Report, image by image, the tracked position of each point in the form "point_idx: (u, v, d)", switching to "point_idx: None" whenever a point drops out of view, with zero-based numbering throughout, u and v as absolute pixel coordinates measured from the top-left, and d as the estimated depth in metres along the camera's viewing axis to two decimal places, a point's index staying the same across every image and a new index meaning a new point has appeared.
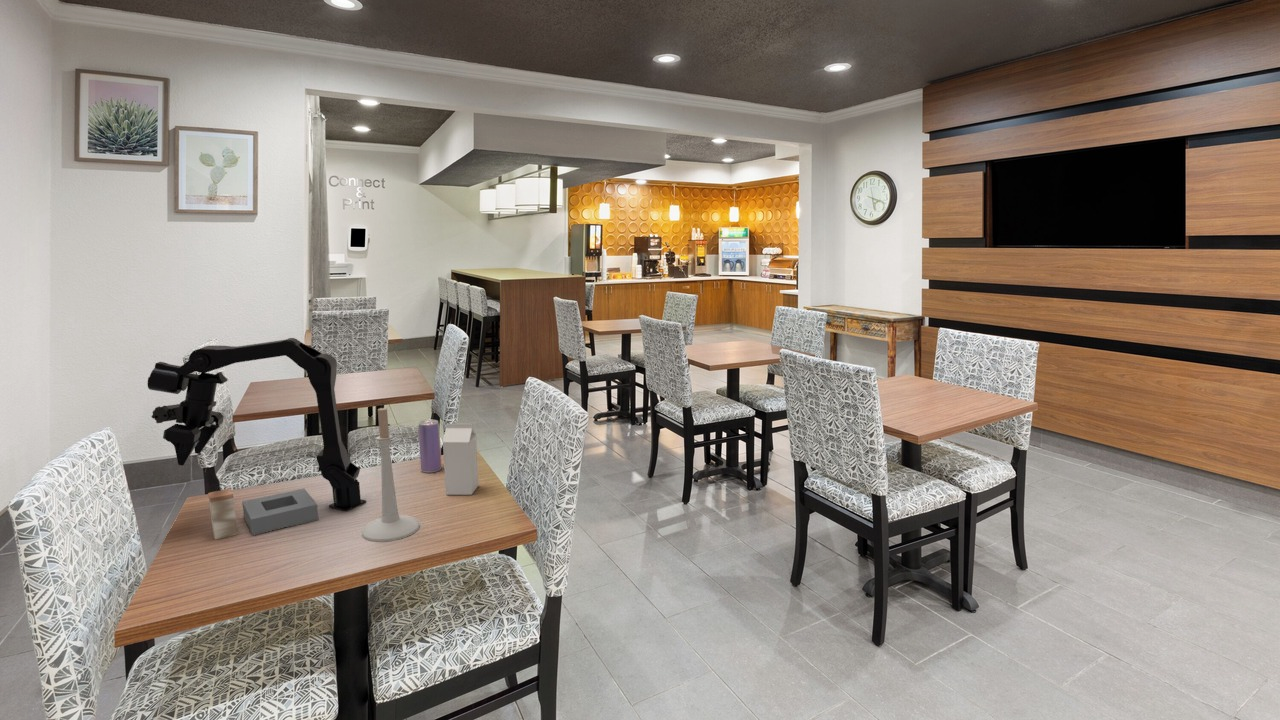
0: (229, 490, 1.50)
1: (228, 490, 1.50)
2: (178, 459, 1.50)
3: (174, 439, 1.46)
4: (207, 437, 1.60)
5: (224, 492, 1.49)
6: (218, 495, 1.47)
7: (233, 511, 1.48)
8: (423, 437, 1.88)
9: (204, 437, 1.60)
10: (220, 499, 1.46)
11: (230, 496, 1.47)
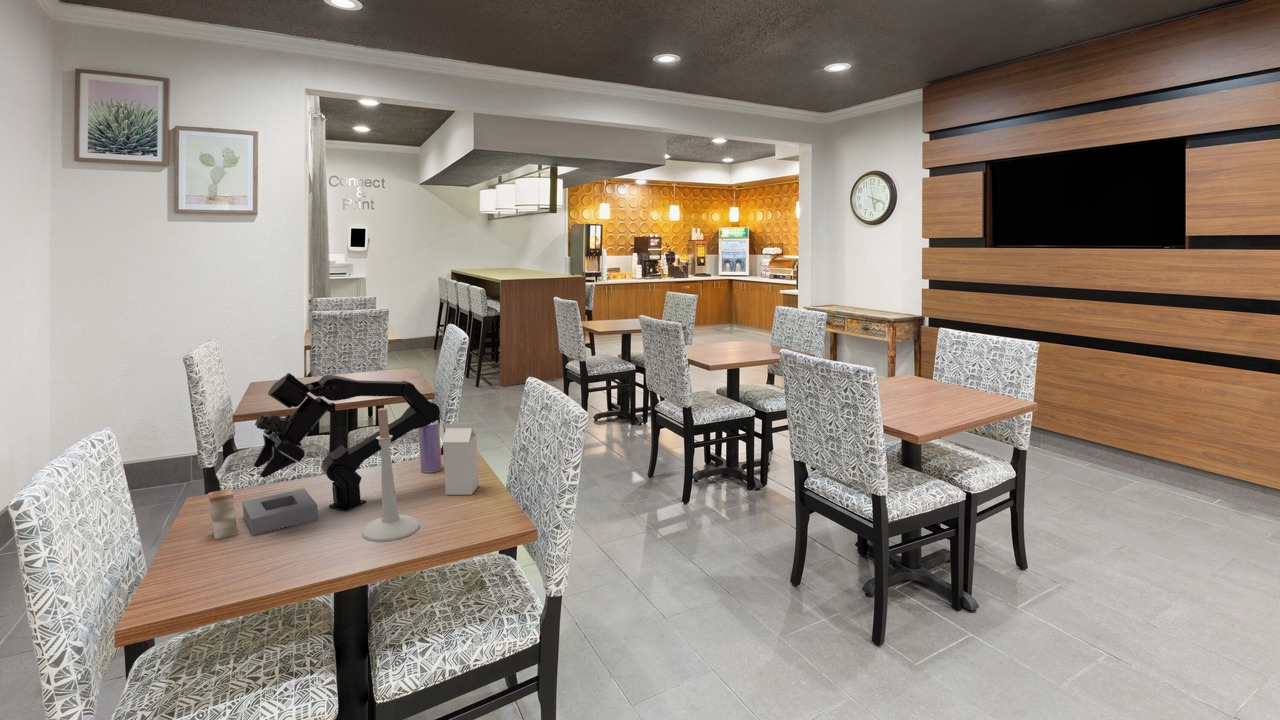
0: (229, 490, 1.50)
1: (228, 490, 1.50)
2: (265, 470, 1.49)
3: (287, 453, 1.47)
4: (273, 454, 1.58)
5: (224, 492, 1.49)
6: (218, 495, 1.47)
7: (233, 511, 1.48)
8: (423, 437, 1.88)
9: (271, 453, 1.58)
10: (220, 499, 1.46)
11: (230, 496, 1.47)
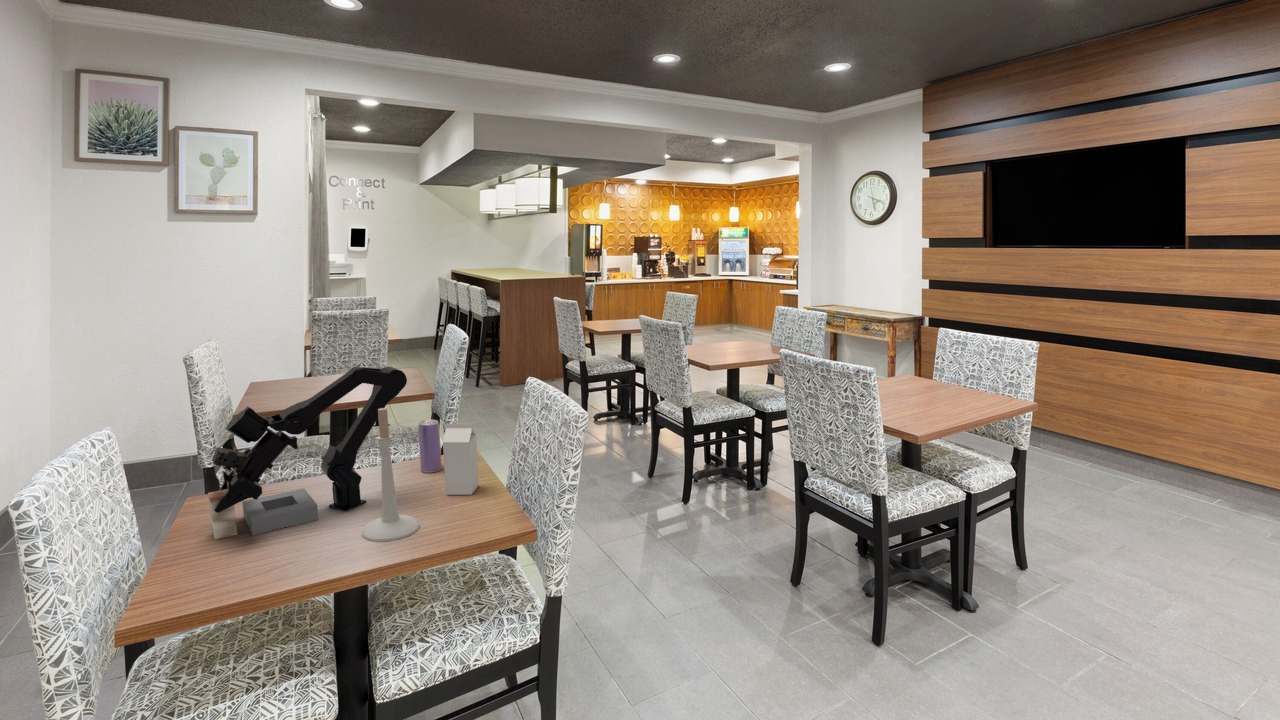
0: None
1: None
2: (219, 505, 1.46)
3: (243, 491, 1.43)
4: None
5: (224, 492, 1.49)
6: (218, 495, 1.47)
7: (233, 511, 1.48)
8: (423, 437, 1.88)
9: None
10: (220, 499, 1.46)
11: None
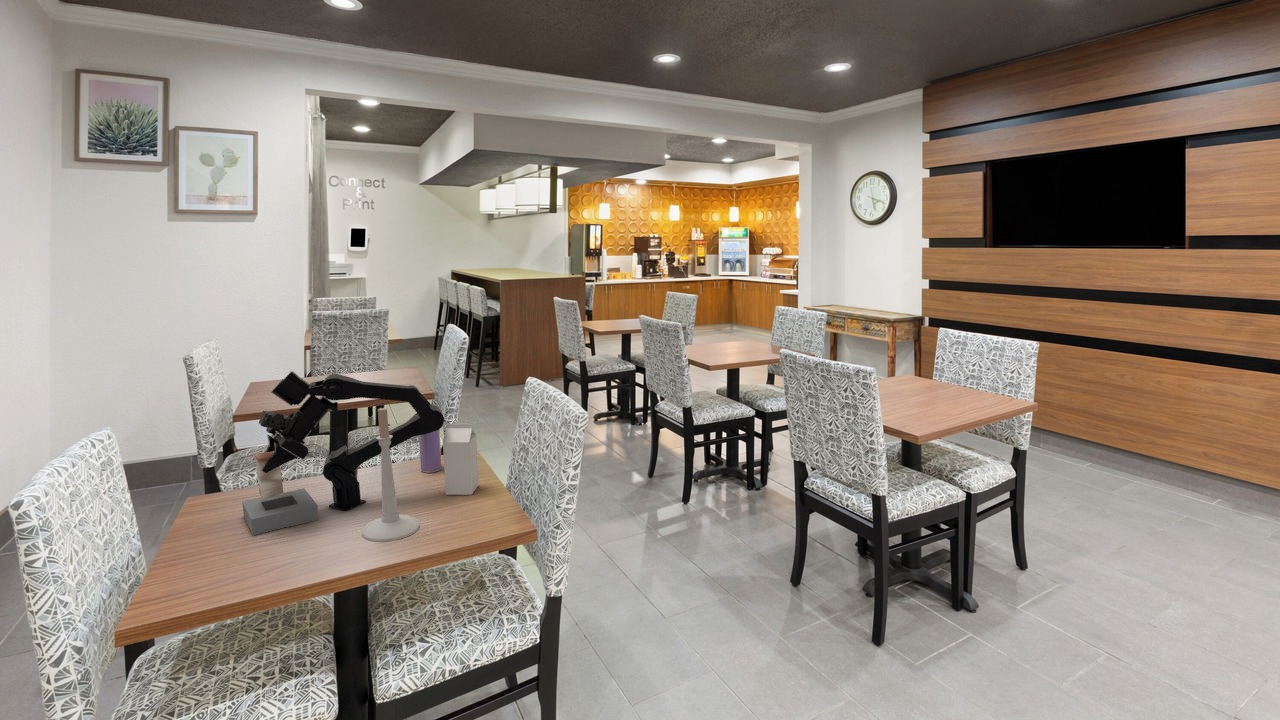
0: None
1: None
2: (267, 466, 1.52)
3: (291, 450, 1.49)
4: None
5: (270, 453, 1.55)
6: (265, 456, 1.53)
7: (279, 472, 1.54)
8: (423, 437, 1.88)
9: None
10: (267, 460, 1.52)
11: None
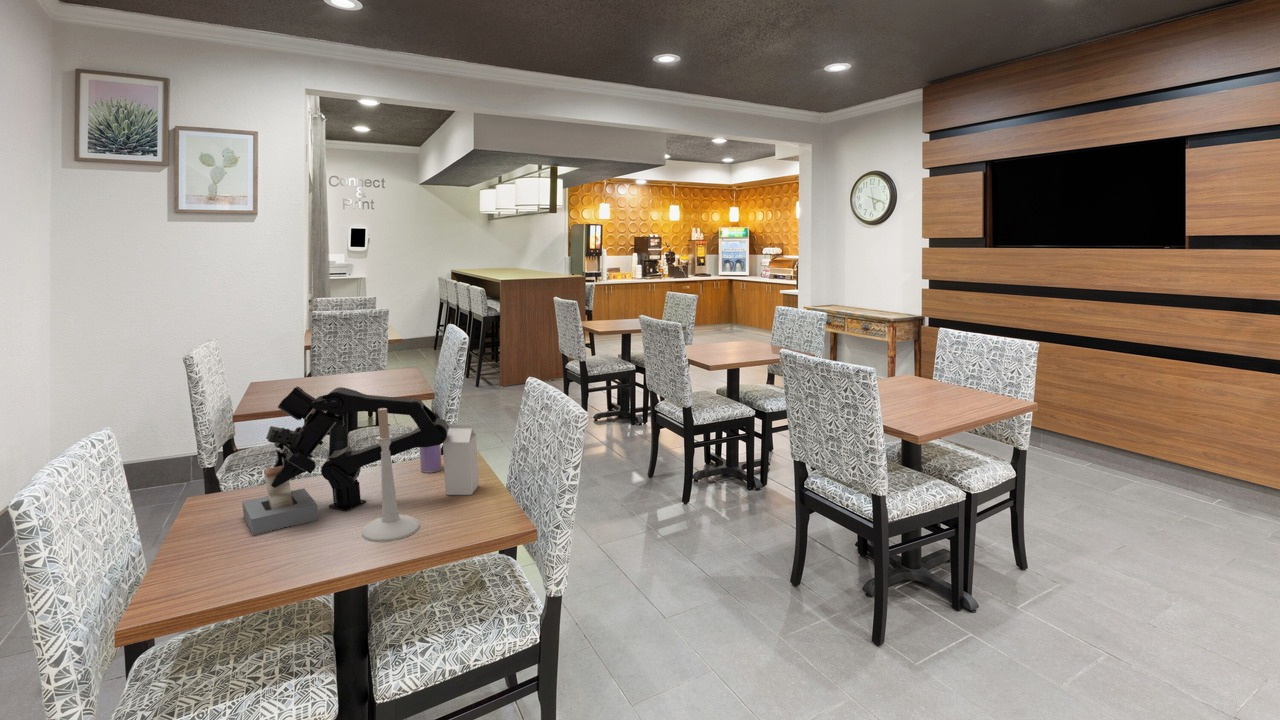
0: None
1: None
2: (275, 481, 1.54)
3: (298, 465, 1.51)
4: None
5: (278, 468, 1.57)
6: (274, 471, 1.55)
7: (288, 486, 1.56)
8: None
9: None
10: (276, 475, 1.54)
11: None
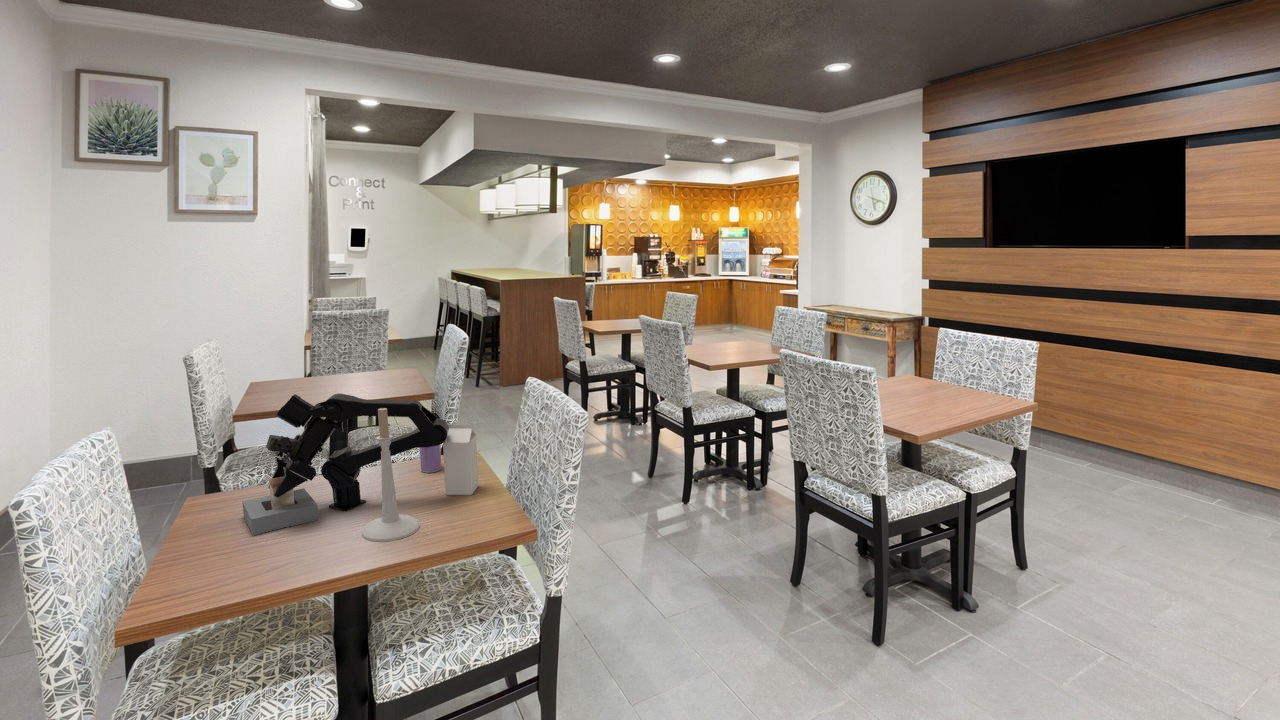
0: None
1: None
2: (278, 490, 1.53)
3: (299, 473, 1.51)
4: None
5: None
6: (279, 481, 1.55)
7: (292, 496, 1.57)
8: None
9: (284, 475, 1.61)
10: None
11: None
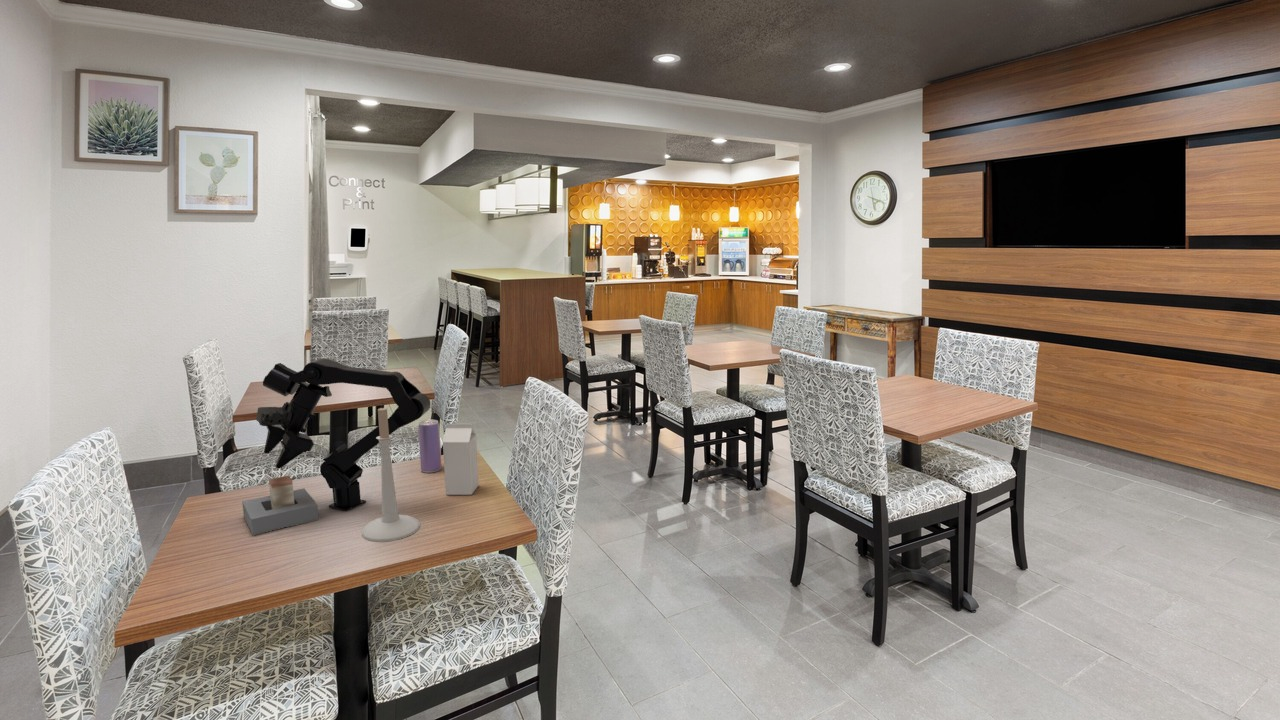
0: (288, 477, 1.59)
1: (287, 477, 1.59)
2: (279, 463, 1.56)
3: (297, 447, 1.54)
4: (279, 438, 1.64)
5: (283, 478, 1.58)
6: (278, 481, 1.55)
7: (292, 496, 1.57)
8: (423, 437, 1.88)
9: (277, 438, 1.64)
10: (281, 485, 1.55)
11: (290, 482, 1.56)
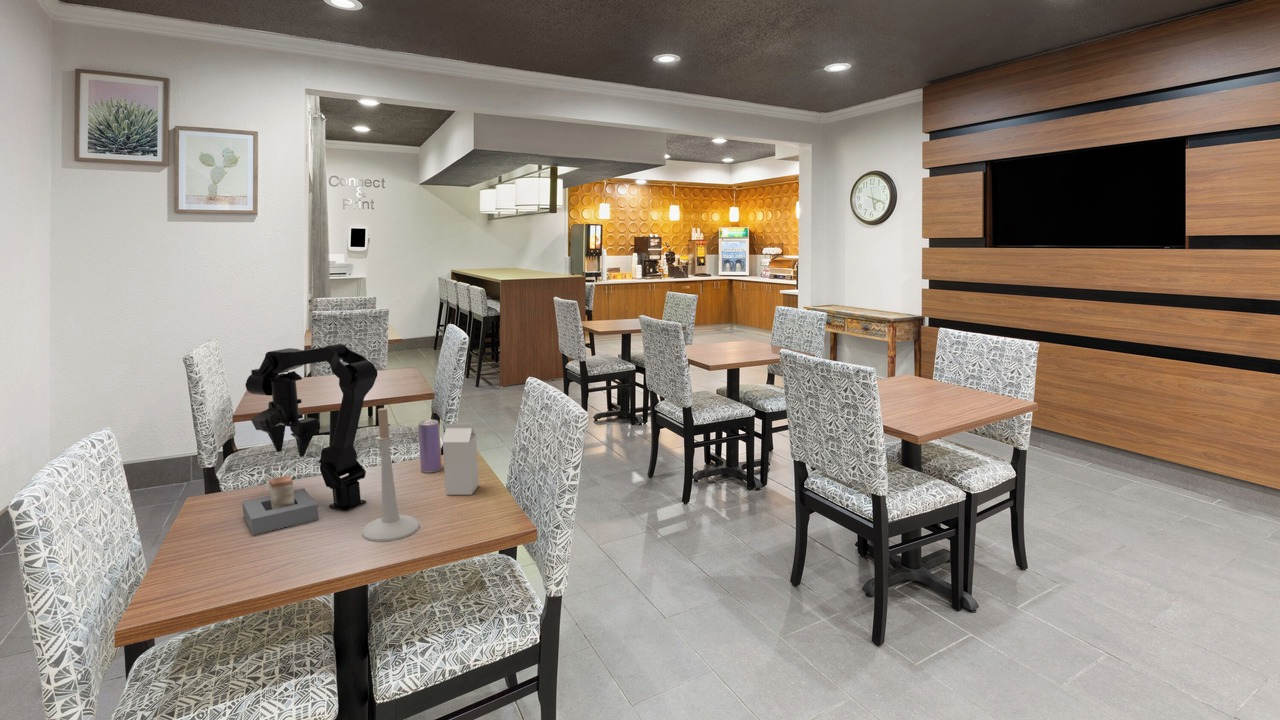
0: (288, 477, 1.59)
1: (287, 477, 1.59)
2: (301, 451, 1.67)
3: (309, 430, 1.65)
4: (281, 434, 1.73)
5: (283, 478, 1.58)
6: (279, 481, 1.55)
7: (292, 496, 1.57)
8: (423, 437, 1.88)
9: (280, 435, 1.73)
10: (281, 485, 1.55)
11: (290, 482, 1.56)
